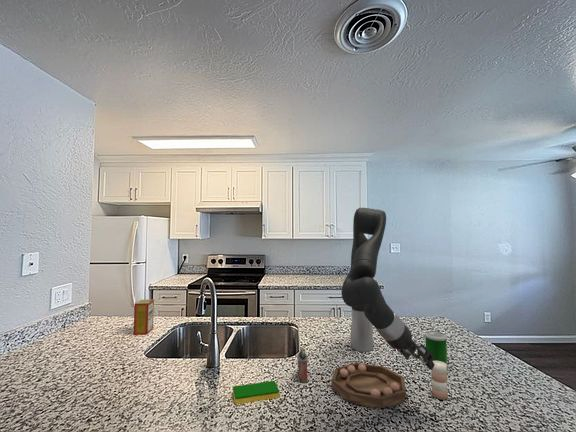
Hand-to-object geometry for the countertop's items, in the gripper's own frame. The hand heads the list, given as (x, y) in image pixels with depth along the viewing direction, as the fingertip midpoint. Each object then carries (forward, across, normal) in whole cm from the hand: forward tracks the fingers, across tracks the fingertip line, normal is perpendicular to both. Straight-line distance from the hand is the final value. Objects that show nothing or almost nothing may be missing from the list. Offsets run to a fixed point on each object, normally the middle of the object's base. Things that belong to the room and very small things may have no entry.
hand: (419, 361), depth 92 cm
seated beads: (+3, +14, +15) cm, 20 cm away
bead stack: (+15, 0, +3) cm, 15 cm away
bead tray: (+3, +14, +15) cm, 20 cm away
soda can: (+29, +16, -11) cm, 35 cm away
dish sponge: (-22, +27, +40) cm, 53 cm away
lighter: (-9, +30, +26) cm, 41 cm away
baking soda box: (-44, +110, +61) cm, 134 cm away
